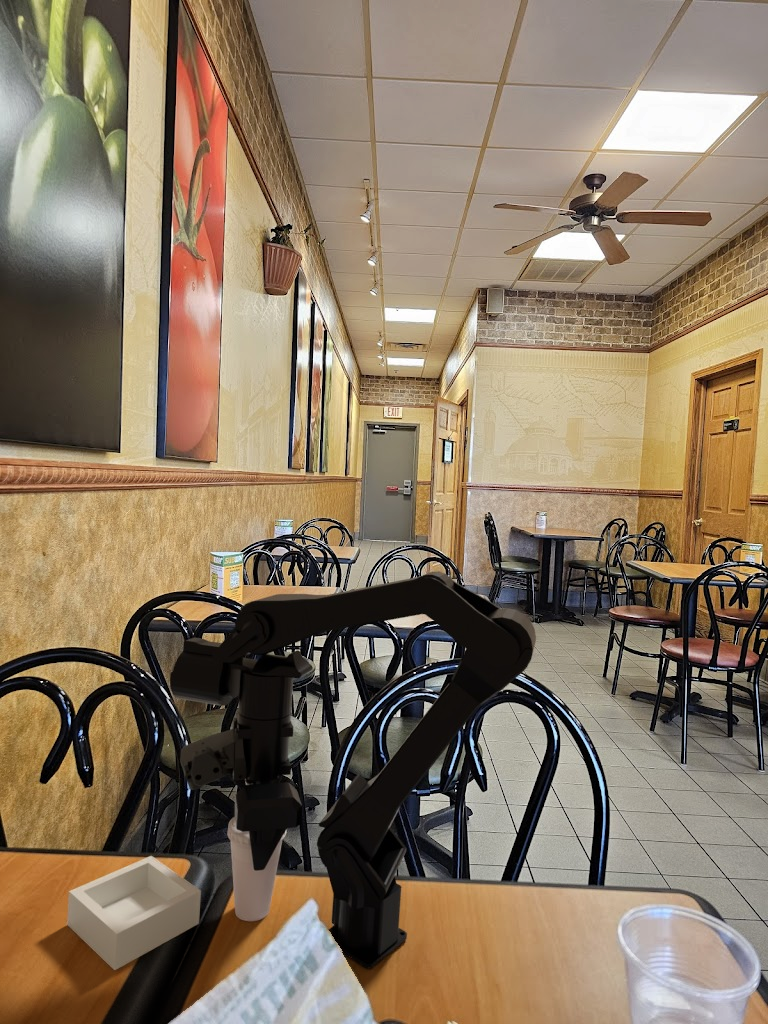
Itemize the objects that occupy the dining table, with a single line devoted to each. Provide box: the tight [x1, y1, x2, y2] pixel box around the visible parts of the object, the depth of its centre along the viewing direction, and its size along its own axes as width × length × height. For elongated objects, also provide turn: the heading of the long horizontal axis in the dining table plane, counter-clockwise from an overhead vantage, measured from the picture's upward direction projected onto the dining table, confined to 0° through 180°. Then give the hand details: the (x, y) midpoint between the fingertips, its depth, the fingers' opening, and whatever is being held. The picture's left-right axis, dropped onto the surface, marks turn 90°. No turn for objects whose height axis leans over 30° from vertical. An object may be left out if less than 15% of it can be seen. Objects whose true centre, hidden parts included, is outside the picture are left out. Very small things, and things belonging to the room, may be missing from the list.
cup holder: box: [66, 855, 202, 971], centre depth 68 cm, size 9×9×4 cm
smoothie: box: [227, 816, 288, 922], centre depth 71 cm, size 6×6×14 cm
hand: (256, 852), depth 71 cm, fingers closed on smoothie, 6 cm apart
